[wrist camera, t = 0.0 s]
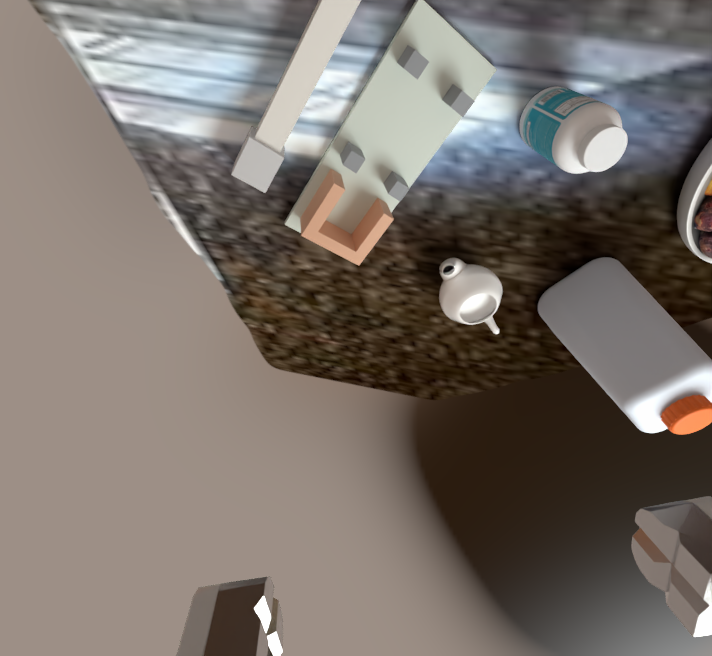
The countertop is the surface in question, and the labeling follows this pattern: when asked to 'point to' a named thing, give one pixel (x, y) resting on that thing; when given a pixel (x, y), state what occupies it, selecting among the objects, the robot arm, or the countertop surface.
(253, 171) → the white long bar
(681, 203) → the bowl
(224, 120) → the countertop surface
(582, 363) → the plastic bottle
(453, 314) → the teapot
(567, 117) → the pill bottle
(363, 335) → the countertop surface
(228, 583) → the robot arm
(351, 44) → the countertop surface
